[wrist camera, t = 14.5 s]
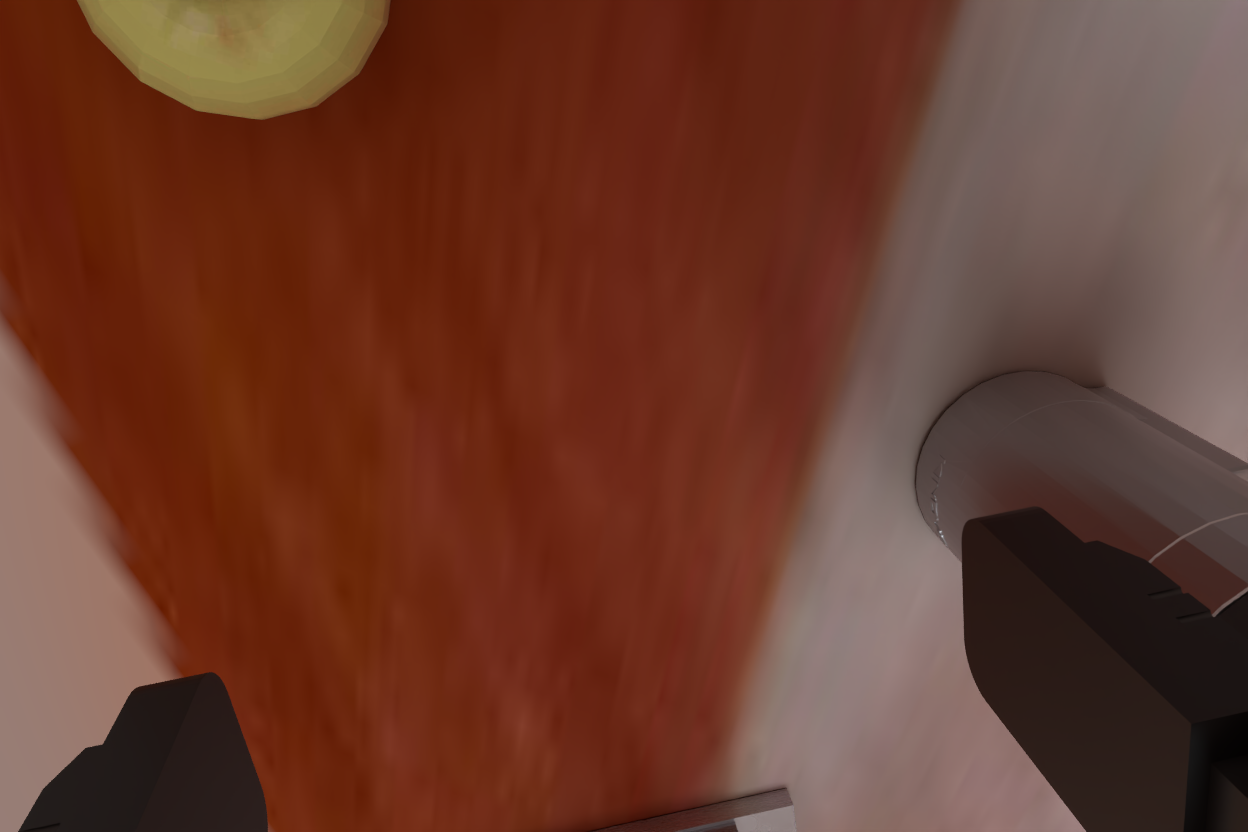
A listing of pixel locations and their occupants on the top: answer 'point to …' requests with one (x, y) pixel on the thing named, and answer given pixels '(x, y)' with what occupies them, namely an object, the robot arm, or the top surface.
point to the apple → (241, 49)
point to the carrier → (724, 817)
